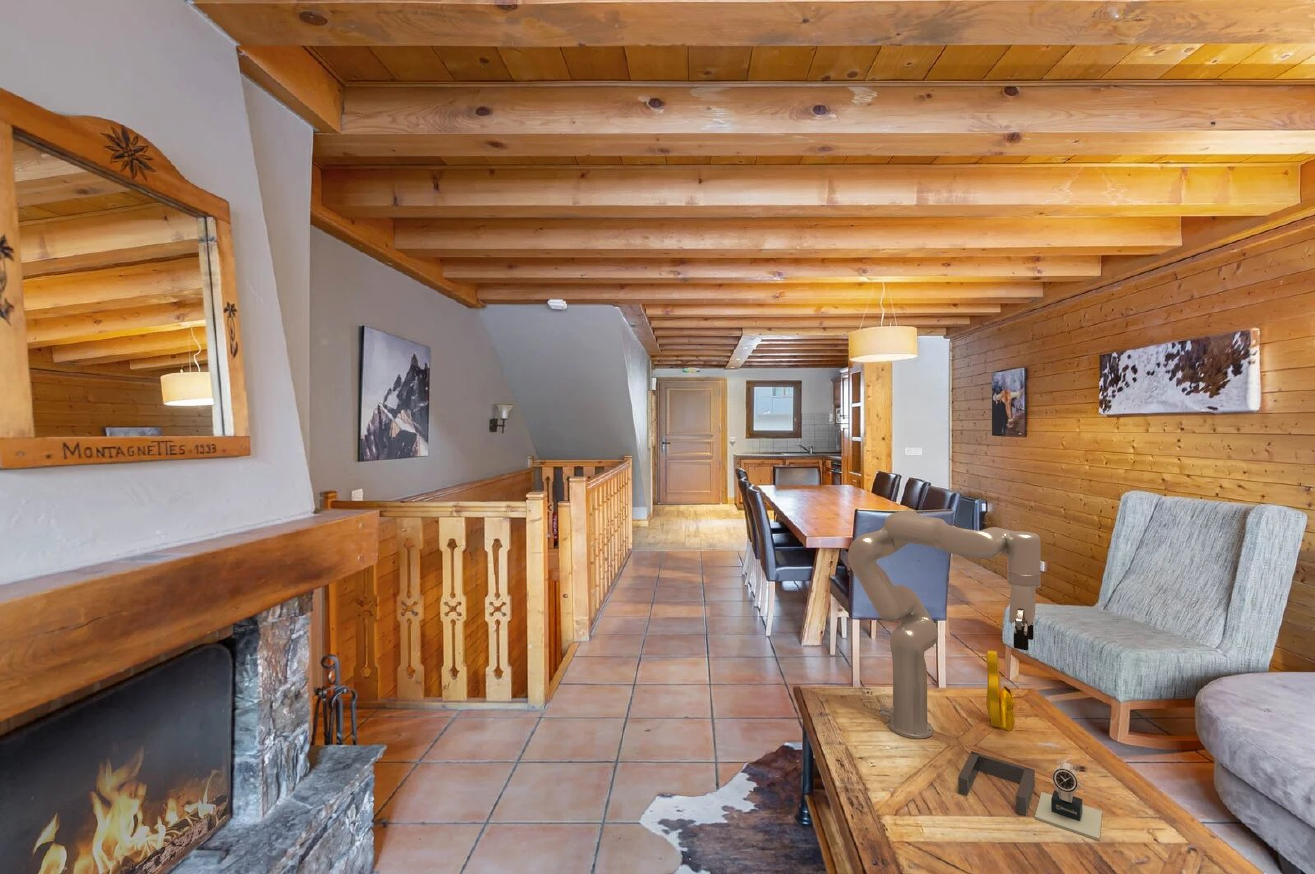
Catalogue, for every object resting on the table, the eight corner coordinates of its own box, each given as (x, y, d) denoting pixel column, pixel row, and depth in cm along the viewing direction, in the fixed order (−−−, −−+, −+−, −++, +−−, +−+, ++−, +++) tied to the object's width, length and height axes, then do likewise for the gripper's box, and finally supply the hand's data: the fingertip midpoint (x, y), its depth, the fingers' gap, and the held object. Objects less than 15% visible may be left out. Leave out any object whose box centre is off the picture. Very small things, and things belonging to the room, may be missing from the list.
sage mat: (1035, 818, 138) (1035, 816, 138) (1041, 794, 148) (1041, 791, 148) (1099, 840, 131) (1099, 838, 131) (1102, 813, 140) (1102, 810, 140)
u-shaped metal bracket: (958, 792, 148) (958, 776, 148) (971, 765, 160) (971, 750, 160) (1025, 815, 139) (1025, 798, 139) (1034, 785, 151) (1034, 769, 151)
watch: (1049, 815, 139) (1049, 768, 138) (1055, 799, 145) (1055, 753, 144) (1079, 825, 135) (1079, 777, 135) (1083, 808, 141) (1083, 762, 141)
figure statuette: (1012, 741, 173) (1012, 665, 172) (981, 733, 177) (981, 659, 177) (1018, 717, 187) (1018, 646, 187) (990, 710, 192) (989, 641, 191)
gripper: (1012, 570, 167) (1012, 632, 167) (1001, 583, 154) (1001, 650, 154) (1044, 574, 162) (1044, 637, 163) (1036, 588, 149) (1036, 656, 149)
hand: (1023, 643), depth 158 cm, fingers open, 9 cm apart
